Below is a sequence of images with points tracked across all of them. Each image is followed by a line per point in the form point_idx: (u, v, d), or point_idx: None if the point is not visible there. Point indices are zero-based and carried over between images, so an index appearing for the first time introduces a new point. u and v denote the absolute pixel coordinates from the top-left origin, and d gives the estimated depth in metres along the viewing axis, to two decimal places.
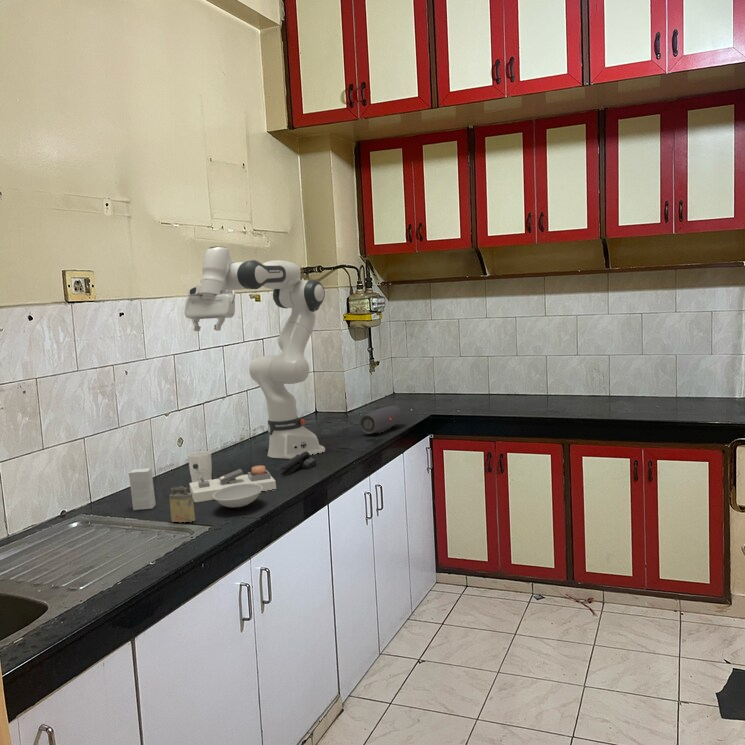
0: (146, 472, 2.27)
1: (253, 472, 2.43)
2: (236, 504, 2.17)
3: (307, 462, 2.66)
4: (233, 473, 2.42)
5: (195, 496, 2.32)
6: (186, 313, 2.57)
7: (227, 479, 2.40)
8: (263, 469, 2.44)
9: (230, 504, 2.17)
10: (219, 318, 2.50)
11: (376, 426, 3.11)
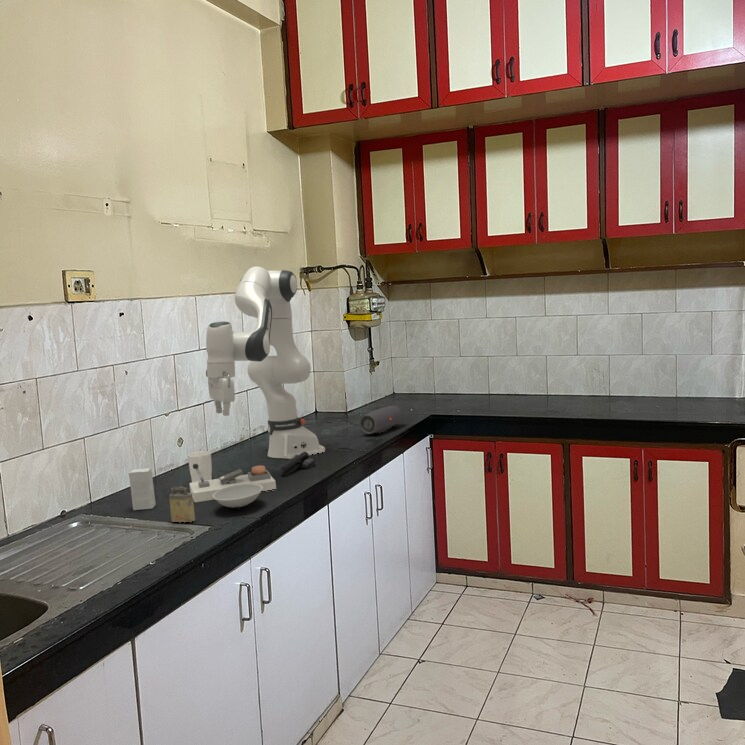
0: (146, 472, 2.27)
1: (253, 472, 2.43)
2: (236, 504, 2.17)
3: (307, 463, 2.66)
4: (233, 473, 2.42)
5: (195, 496, 2.32)
6: None
7: (227, 479, 2.40)
8: (263, 469, 2.44)
9: (230, 504, 2.17)
10: (223, 404, 2.35)
11: (376, 426, 3.11)
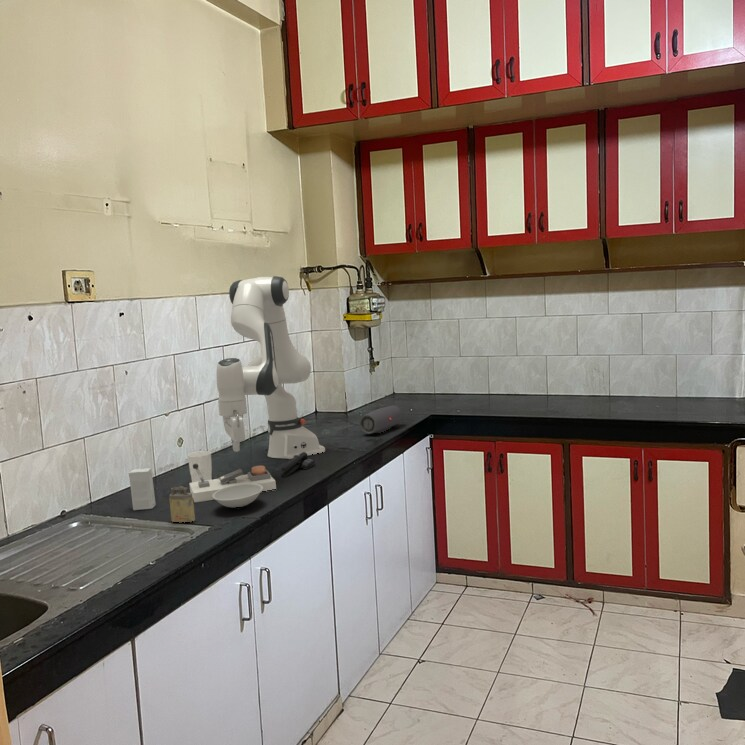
0: (146, 472, 2.27)
1: (253, 472, 2.43)
2: (236, 504, 2.17)
3: (306, 463, 2.66)
4: (233, 473, 2.42)
5: (195, 496, 2.32)
6: (225, 429, 2.49)
7: (227, 479, 2.40)
8: (263, 469, 2.44)
9: (230, 504, 2.17)
10: (233, 440, 2.39)
11: (376, 426, 3.11)
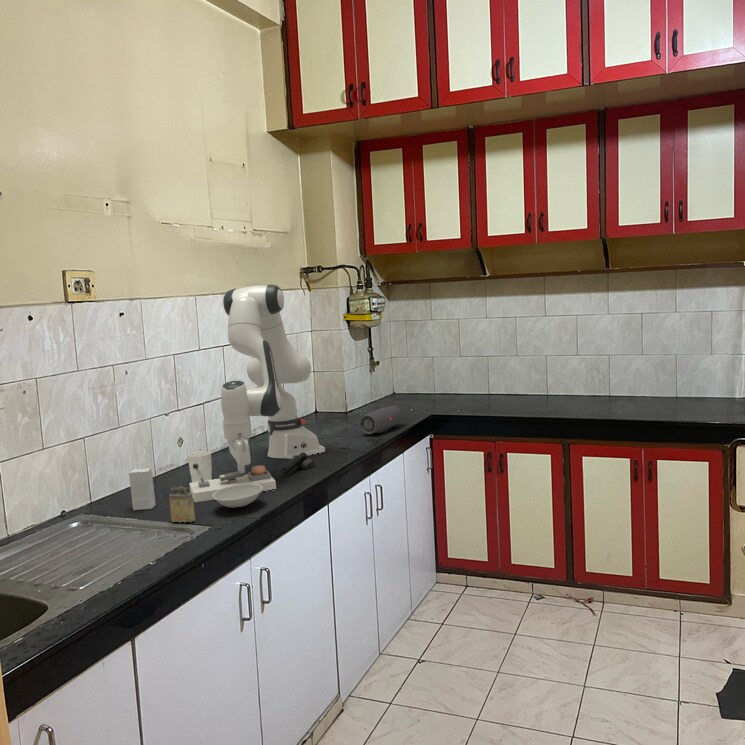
0: (146, 472, 2.27)
1: (253, 472, 2.43)
2: (236, 504, 2.17)
3: (306, 463, 2.65)
4: (234, 473, 2.42)
5: (195, 496, 2.32)
6: None
7: (227, 478, 2.40)
8: (263, 469, 2.44)
9: (230, 504, 2.17)
10: (238, 463, 2.40)
11: (376, 426, 3.11)
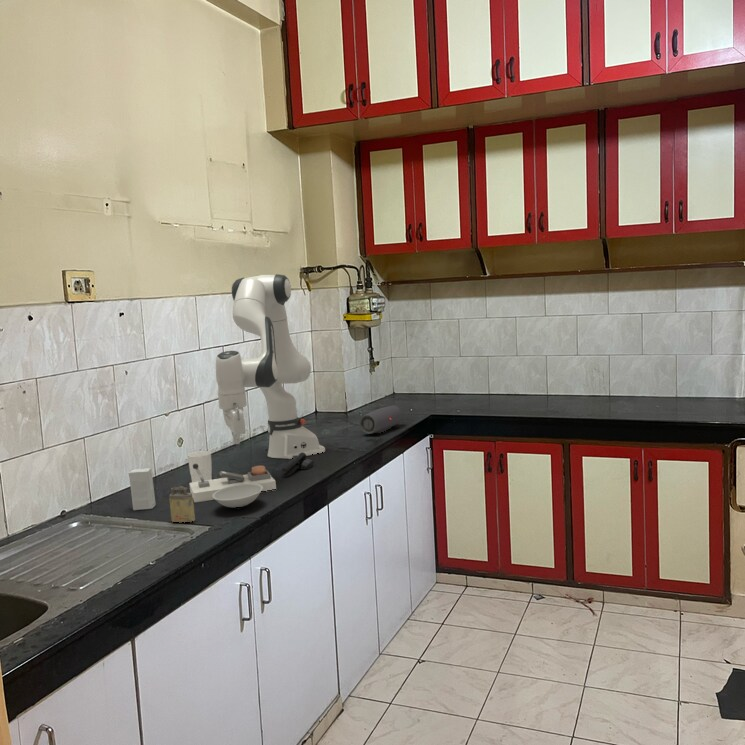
0: (146, 472, 2.27)
1: (253, 472, 2.43)
2: (236, 504, 2.17)
3: (306, 463, 2.65)
4: (235, 475, 2.42)
5: (195, 496, 2.32)
6: (225, 421, 2.49)
7: (228, 476, 2.40)
8: (263, 469, 2.44)
9: (230, 504, 2.17)
10: (233, 433, 2.39)
11: (376, 426, 3.11)
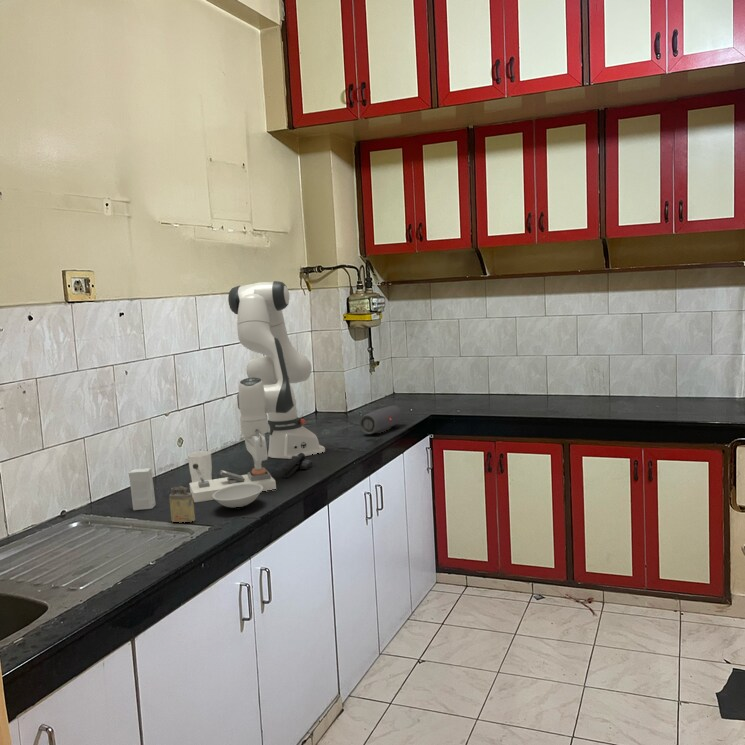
0: (146, 472, 2.27)
1: (253, 473, 2.43)
2: (236, 504, 2.17)
3: (305, 464, 2.65)
4: (235, 475, 2.42)
5: (195, 496, 2.32)
6: (246, 447, 2.52)
7: (228, 476, 2.40)
8: (263, 471, 2.44)
9: (230, 504, 2.17)
10: (255, 459, 2.42)
11: (376, 426, 3.11)
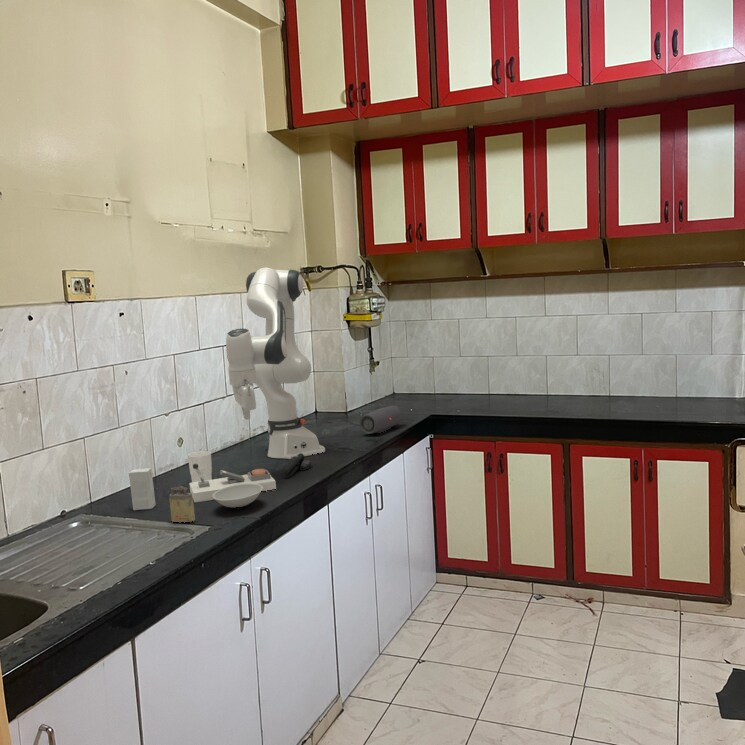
0: (146, 472, 2.27)
1: (253, 475, 2.44)
2: (236, 504, 2.17)
3: (305, 464, 2.64)
4: (235, 475, 2.42)
5: (195, 496, 2.32)
6: (235, 398, 2.56)
7: (228, 476, 2.40)
8: (263, 472, 2.44)
9: (230, 504, 2.17)
10: (243, 409, 2.46)
11: (376, 426, 3.11)
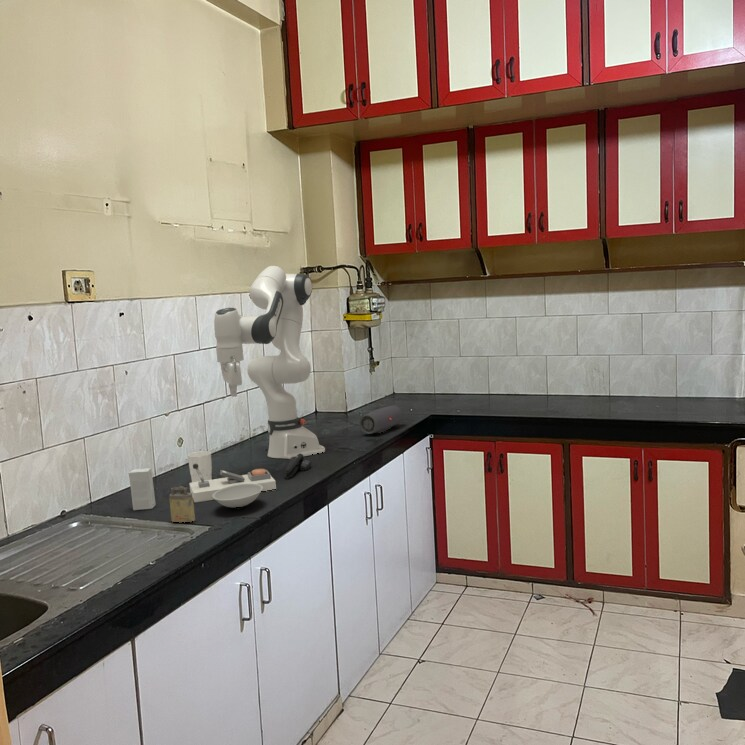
0: (146, 472, 2.27)
1: (253, 475, 2.44)
2: (236, 504, 2.17)
3: (305, 464, 2.64)
4: (235, 475, 2.42)
5: (195, 496, 2.32)
6: (223, 377, 2.61)
7: (228, 476, 2.40)
8: (263, 472, 2.44)
9: (230, 504, 2.17)
10: (230, 386, 2.51)
11: (376, 426, 3.11)
